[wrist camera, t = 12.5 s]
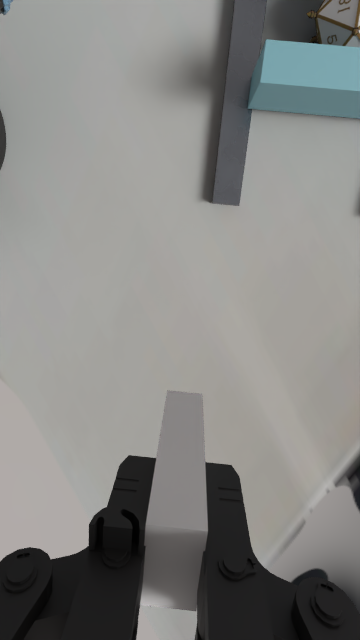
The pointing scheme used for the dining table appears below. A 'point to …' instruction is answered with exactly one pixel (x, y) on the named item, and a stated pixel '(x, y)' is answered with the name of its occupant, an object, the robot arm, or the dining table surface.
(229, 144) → the vise base
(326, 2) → the game die
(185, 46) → the dining table surface
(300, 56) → the sliding jaw
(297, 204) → the dining table surface
